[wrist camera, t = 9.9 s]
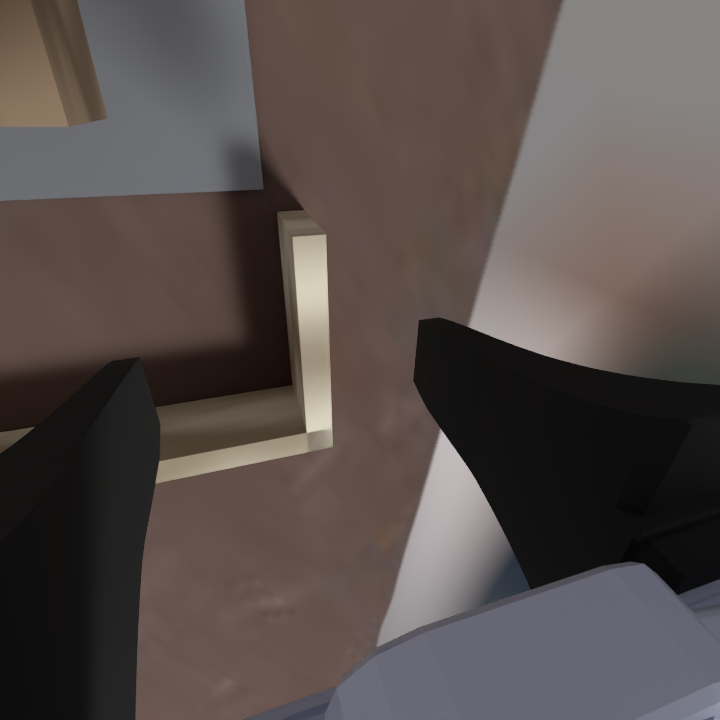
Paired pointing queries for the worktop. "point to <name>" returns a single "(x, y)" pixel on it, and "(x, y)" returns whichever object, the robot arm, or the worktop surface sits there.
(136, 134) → the rubber mat
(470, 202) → the worktop surface
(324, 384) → the beige angled piece
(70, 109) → the wooden cube
